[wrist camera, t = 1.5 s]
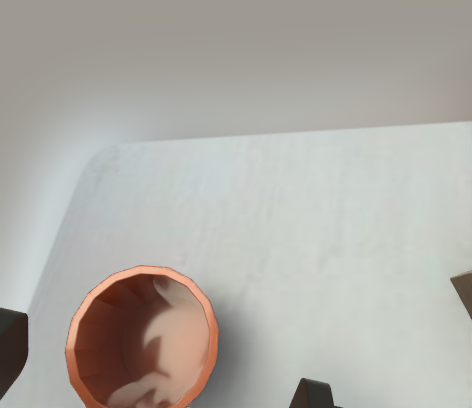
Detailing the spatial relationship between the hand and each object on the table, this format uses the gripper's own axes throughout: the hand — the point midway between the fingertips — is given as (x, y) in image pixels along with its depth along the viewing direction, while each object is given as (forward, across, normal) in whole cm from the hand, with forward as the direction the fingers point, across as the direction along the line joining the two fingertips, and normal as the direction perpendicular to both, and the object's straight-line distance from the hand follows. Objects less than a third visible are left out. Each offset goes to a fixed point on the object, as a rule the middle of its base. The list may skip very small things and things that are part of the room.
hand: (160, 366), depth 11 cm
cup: (+10, +1, +10) cm, 14 cm away
